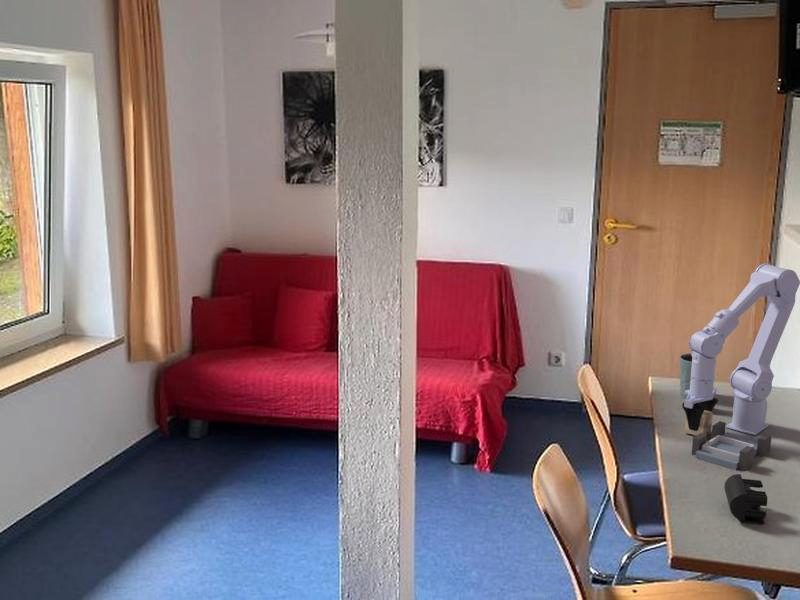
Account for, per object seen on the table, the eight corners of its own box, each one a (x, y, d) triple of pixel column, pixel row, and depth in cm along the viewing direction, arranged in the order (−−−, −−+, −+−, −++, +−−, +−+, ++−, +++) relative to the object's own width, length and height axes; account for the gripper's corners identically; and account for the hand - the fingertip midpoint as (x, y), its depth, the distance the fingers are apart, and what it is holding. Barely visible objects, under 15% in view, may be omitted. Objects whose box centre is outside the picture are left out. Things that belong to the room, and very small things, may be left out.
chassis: (720, 435, 218) (721, 419, 217) (771, 449, 209) (773, 433, 208) (689, 455, 206) (690, 439, 205) (742, 471, 197) (744, 454, 196)
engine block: (692, 427, 223) (694, 407, 222) (711, 432, 219) (712, 412, 218) (684, 432, 219) (685, 412, 218) (702, 437, 216) (704, 417, 215)
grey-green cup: (714, 403, 242) (718, 364, 239) (677, 400, 244) (681, 361, 241) (710, 392, 251) (713, 354, 248) (675, 389, 254) (678, 351, 251)
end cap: (722, 500, 183) (725, 472, 181) (757, 504, 181) (760, 475, 179) (728, 522, 173) (731, 492, 172) (764, 526, 172) (768, 496, 170)
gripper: (700, 368, 224) (695, 415, 227) (674, 380, 214) (670, 430, 217) (725, 373, 219) (721, 422, 222) (701, 387, 209) (696, 437, 212)
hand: (698, 426), depth 219 cm, fingers closed on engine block, 5 cm apart
